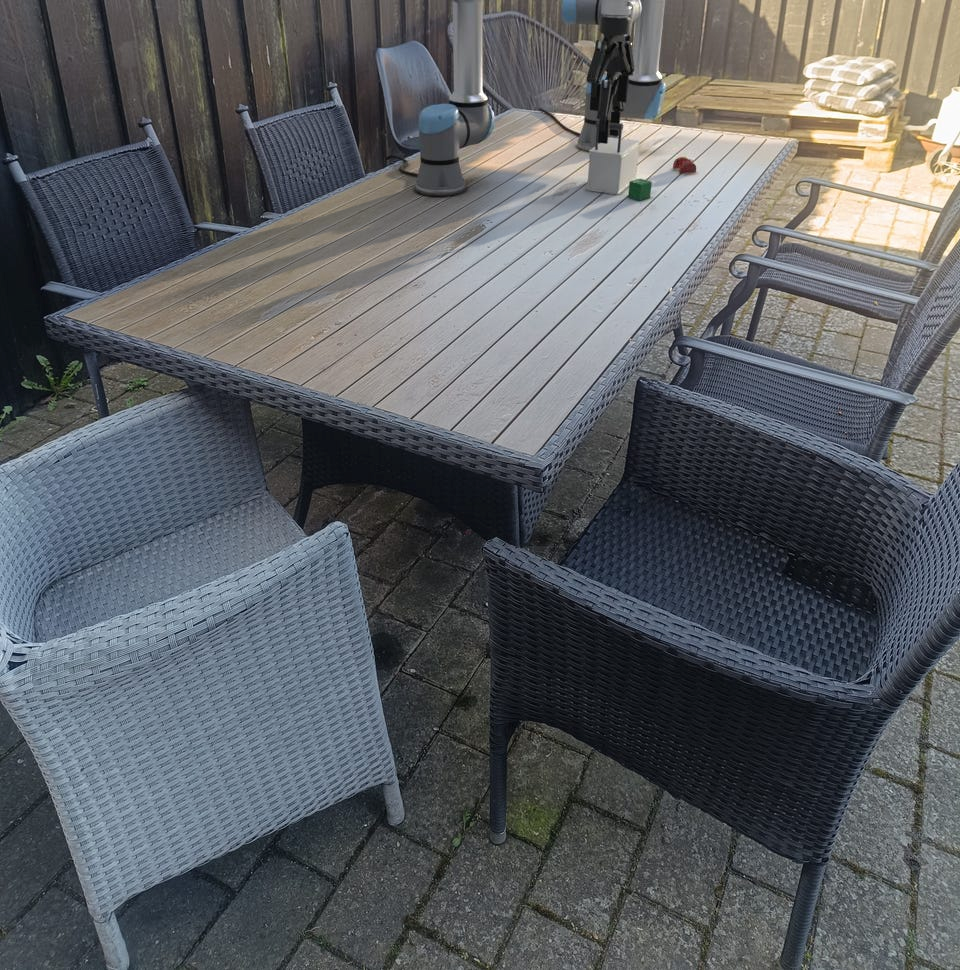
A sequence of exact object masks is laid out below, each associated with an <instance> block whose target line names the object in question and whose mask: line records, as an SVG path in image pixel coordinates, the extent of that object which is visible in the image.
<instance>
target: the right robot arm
mask: <svg viewBox="0 0 960 970" xmlns="http://www.w3.org/2000/svg"><path fill="white" fill-rule="evenodd" d="M665 5H666V0H632V6H631V14H630V15H628V17H630V30H629V33H628V34H627V35H631V36H632V27H633V25H634V24H635V30H634V41H633V42H634V43H632V42H631V46H633V52H632V53H633V60H634V67H635V70H634V72H633V75H632V76H630V75H629V82H628V93H627V102H618V101H617V92H618V80H619V75H622V74H621V72H620V69H619V66H618V63H617V61H616V58H615V57H614V58H612V60H610V61H609V63H608V66H607V68H606V70H605V72H606V74H604V75H603V77H602V79H601V82H600V84H602V90H601V103H600V111H594V110H590V98H591V83H588V82H587V81H586V82H587V83H586V87H585V89H586V90H585V101H584V102H585V103H584V114H583V115H584V117H583V118H584V119H583V125H582V128H581V131H580V132H577V131H575V130H572V129H571V128H569V127H567V126H566V125H564V124H563V123H562V122H561V121H559V119H557V117H556V116H555V115H554V114H552V112H549V111H548V110H546V109H544V108H542V107H539V108H538V111H540V112H541V113H544V114H546V115H548V116H549V117H550V118H551V119H553V121H555V122H556V124H558V126H559V127H560V128H562V129H563V130H565V131H566V132H568V133H570V134H573V135H575V136H578V139H577V143H576V144H577V145H576V146H577V148H578V149H580V150H582V151H586V152H589V151H590V150H591V149H593V148H594V147H595V144H596V131H597V128H596V122H597V121H599V122H600V123H599V136H598V144H600V143H604V144H607V143H608V138H609V137H611V138H618V137H619V130H614V129H609V123H618V124H621V118H622V119H623V118H624V119H625V118H626V119H636V120H642V121H645V120H656V118H657V117H658V116H659V115H660V112H661V109H662V107H663V106H662V105H663V102H664V98H665V94H666V88H667V87H666V86H667V83H666V82H664V81H662V79H663V75H662V74H661V72H659V67H660V66H659V65H660V54H661V47H662V35H663V34H662V33H663V24H664V15H665V7H666V6H665ZM601 8H602V0H561V8H560V10H561V11H560V13H561V15H560V17H561V20H562V22H563V23H564V24H572V25H575V26H576V25H591V26H600V23H601V18H602V17H603V15H602V14H601ZM603 38H604V36H603ZM603 38H602V39H603Z"/></svg>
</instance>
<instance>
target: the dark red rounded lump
mask: <svg viewBox="0 0 960 970" xmlns="http://www.w3.org/2000/svg"><path fill="white" fill-rule="evenodd" d="M672 170H678V173H679V174H690V173H691V174H692V173H696V172H697V165H696V163H695V161H694V160H693V159H691V158H688V157H686V156H679V157H677V158H676V159H674V161H673V164H672Z"/></svg>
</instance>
